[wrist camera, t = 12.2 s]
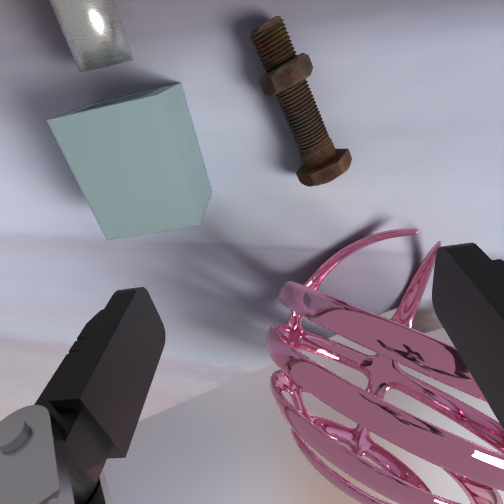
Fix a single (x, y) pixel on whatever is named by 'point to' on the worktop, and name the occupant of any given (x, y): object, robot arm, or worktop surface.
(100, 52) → the plunger
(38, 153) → the worktop surface
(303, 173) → the bolt
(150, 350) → the robot arm
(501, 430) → the spiral basket
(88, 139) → the housing
